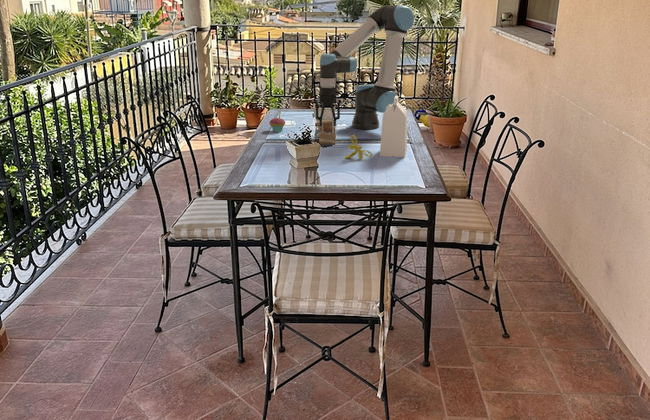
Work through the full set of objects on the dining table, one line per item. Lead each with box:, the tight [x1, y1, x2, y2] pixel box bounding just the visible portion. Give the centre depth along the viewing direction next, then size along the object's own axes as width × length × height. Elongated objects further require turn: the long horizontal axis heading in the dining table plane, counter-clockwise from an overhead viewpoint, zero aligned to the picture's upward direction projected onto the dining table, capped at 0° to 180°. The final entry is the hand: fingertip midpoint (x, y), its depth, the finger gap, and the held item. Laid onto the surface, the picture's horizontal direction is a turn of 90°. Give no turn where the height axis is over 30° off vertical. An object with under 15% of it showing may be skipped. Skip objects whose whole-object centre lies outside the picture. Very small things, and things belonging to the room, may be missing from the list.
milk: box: [379, 95, 408, 158], centre depth 264 cm, size 12×12×26 cm
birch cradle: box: [318, 126, 336, 145], centre depth 290 cm, size 16×8×5 cm, turn 179°
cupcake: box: [268, 109, 286, 133], centre depth 307 cm, size 9×8×12 cm
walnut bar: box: [323, 120, 332, 132], centre depth 289 cm, size 11×4×4 cm, turn 179°
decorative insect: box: [344, 134, 373, 160], centre depth 258 cm, size 13×3×10 cm
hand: (327, 132), depth 292 cm, fingers closed on walnut bar, 4 cm apart
